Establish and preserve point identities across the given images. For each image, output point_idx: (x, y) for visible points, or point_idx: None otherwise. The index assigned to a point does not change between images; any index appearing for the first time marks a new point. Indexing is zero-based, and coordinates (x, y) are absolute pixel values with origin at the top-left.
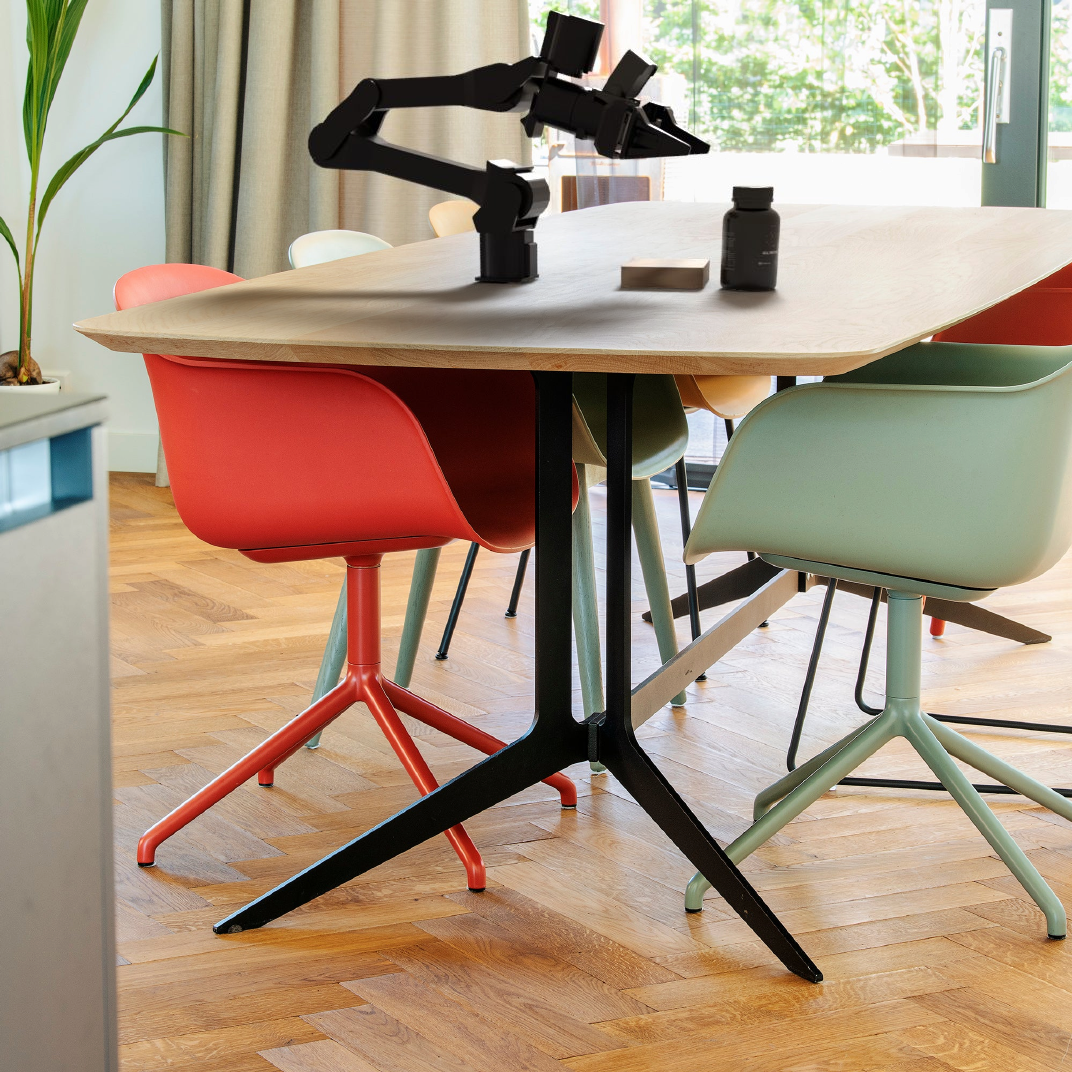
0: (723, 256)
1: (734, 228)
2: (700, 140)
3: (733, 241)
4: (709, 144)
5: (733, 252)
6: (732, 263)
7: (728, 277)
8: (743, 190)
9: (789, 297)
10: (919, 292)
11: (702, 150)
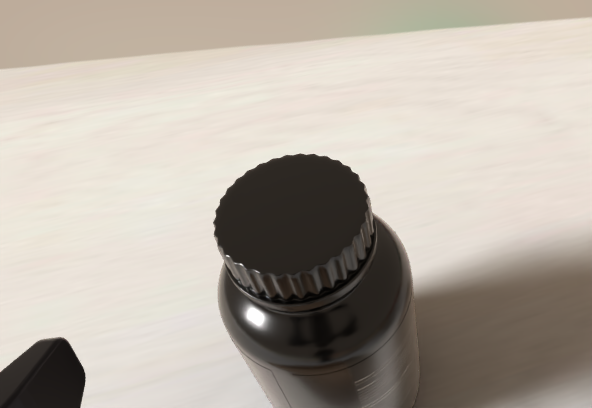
0: (389, 398)
1: (410, 313)
2: (26, 389)
3: (411, 336)
4: (47, 339)
5: (414, 350)
6: (415, 366)
7: (412, 396)
8: (368, 222)
9: (457, 248)
10: (280, 111)
11: (67, 402)
